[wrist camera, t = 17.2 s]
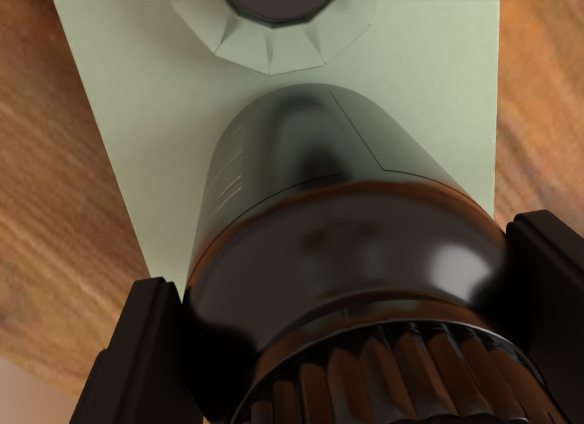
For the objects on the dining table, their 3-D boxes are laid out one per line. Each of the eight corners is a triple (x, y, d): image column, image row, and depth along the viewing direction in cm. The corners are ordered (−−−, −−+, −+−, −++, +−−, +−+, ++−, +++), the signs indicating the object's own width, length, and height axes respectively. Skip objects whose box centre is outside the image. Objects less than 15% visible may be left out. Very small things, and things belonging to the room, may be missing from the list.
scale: (26, -120, 13) (-32, -145, 11) (487, -206, 13) (546, -253, 11) (184, 342, 21) (173, 396, 18) (479, 291, 21) (512, 338, 18)
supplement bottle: (279, 291, 19) (309, 724, 8) (168, 150, 16) (-17, 525, 5) (440, 203, 17) (735, 577, 7) (351, 33, 15) (617, 204, 4)
